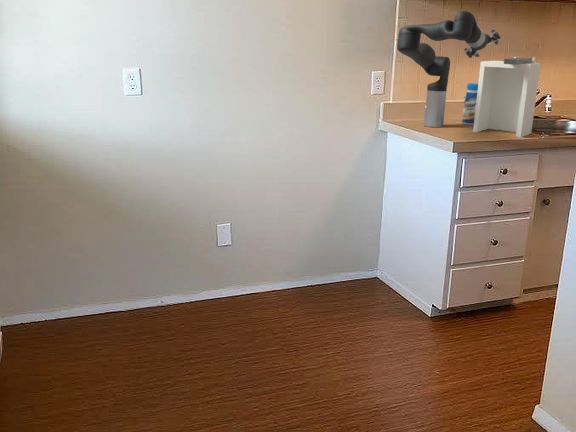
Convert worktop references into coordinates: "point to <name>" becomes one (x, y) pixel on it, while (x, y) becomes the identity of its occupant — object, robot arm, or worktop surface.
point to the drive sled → (518, 60)
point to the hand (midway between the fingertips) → (486, 48)
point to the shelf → (506, 97)
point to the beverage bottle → (470, 104)
